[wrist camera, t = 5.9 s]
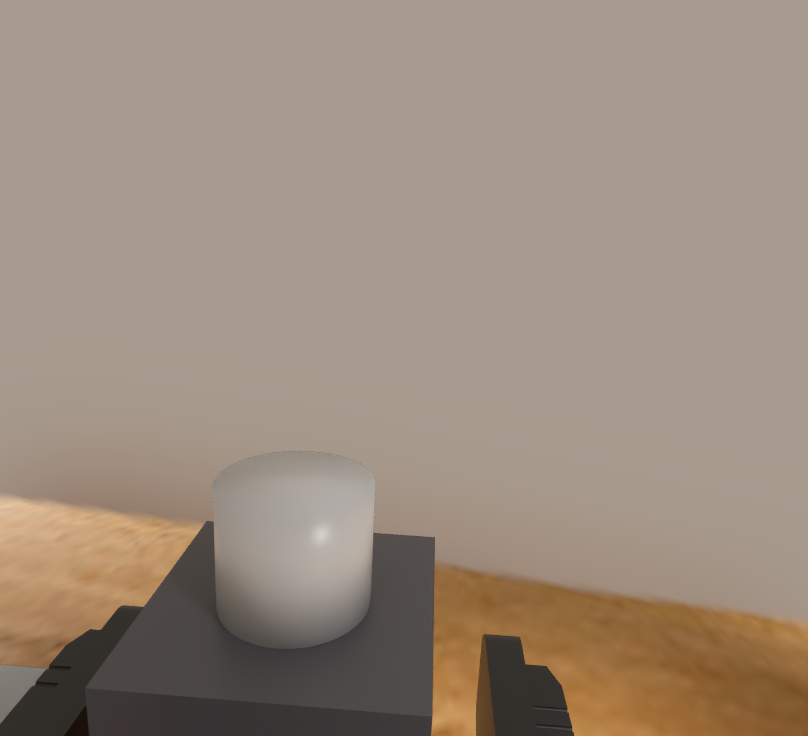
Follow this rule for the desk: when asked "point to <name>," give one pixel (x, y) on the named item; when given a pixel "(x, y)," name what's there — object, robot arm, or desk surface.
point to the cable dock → (15, 685)
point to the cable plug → (281, 617)
